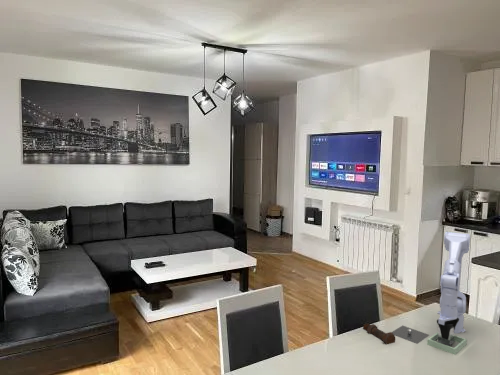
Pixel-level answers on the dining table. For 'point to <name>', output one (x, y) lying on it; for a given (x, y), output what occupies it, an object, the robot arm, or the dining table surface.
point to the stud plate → (410, 334)
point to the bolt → (380, 333)
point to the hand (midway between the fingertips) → (447, 336)
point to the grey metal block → (450, 338)
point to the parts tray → (446, 348)
